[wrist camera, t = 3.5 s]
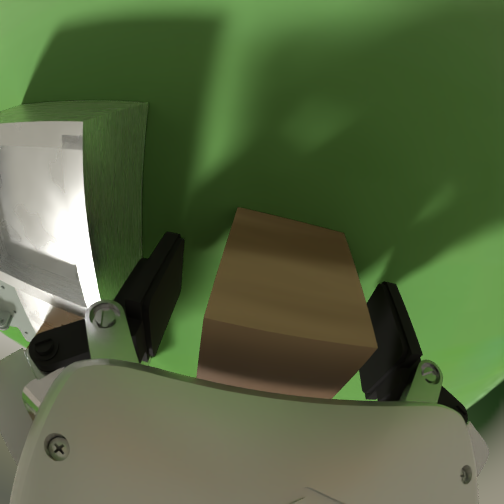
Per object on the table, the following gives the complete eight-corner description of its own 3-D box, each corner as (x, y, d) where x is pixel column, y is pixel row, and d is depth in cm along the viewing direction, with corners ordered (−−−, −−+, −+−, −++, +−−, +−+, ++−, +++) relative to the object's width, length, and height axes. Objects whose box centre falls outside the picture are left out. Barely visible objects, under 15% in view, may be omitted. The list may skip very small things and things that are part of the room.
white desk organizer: (20, 104, 9) (-122, 180, 1) (148, 102, 9) (-75, 208, 2) (64, 327, 18) (16, 415, 11) (151, 359, 19) (114, 467, 11)
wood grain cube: (237, 206, 11) (203, 317, 6) (343, 232, 12) (377, 347, 7) (219, 299, 14) (193, 403, 10) (304, 317, 15) (307, 421, 10)
